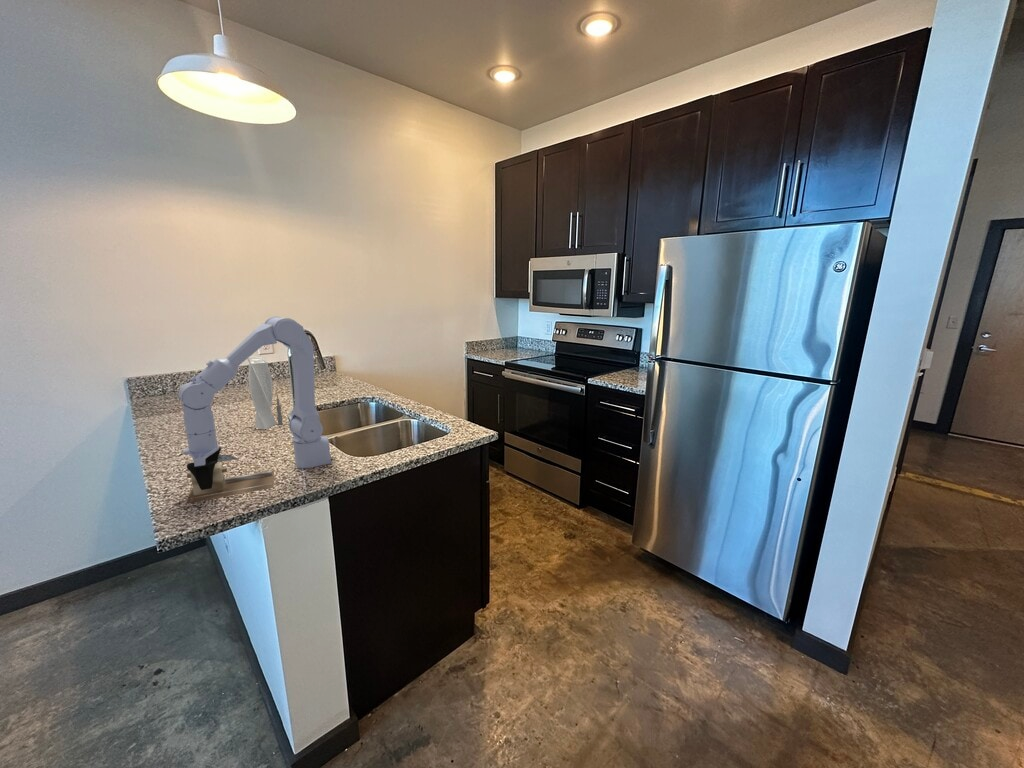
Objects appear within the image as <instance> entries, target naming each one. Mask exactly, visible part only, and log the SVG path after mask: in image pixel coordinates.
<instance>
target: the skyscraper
mask: <svg viewBox="0 0 1024 768" xmlns="http://www.w3.org/2000/svg"><path fill="white" fill-rule="evenodd" d="M246 360H247V361H248V363H249V365H248V387H249V394H250V398H251V401H252V403H253V407H254V409H255V421H254V422H255V423H254V429H255V428H259V429H267V428H271V427H272V426H275V425H277V424H278V425H283V426H284V422H283V415H282V405H280V399H279V396H278V395H279V394H276V403H277V404H276V406H275V407H276V413H277V415H276V418H277V419H276V418H275V416H274V414H273V413H274V412H273V410H272V403H273V394H274V392H273V391H274V387H273V386H274V385H273V378H272V373H271V372H270V368H269V365H268V362H267V359H265V358H262V357H260V356H250V357H249V358H247V359H246ZM276 420H277V421H276Z"/></svg>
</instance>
